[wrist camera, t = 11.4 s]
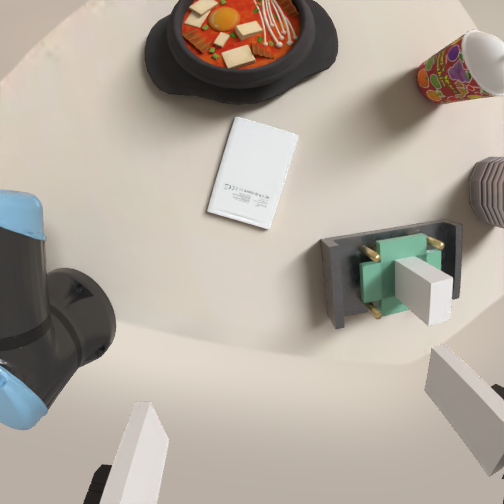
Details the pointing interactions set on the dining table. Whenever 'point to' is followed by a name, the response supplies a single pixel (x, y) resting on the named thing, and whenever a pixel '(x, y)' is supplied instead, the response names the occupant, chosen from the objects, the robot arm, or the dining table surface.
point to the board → (385, 270)
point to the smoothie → (464, 69)
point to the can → (488, 191)
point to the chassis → (364, 250)
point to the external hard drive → (252, 172)
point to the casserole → (239, 48)
